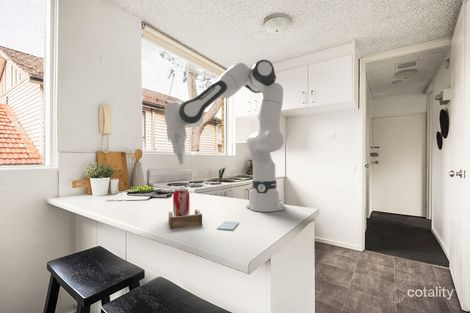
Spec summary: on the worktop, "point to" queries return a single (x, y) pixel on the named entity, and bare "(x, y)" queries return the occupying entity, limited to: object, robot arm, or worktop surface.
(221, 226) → the slate card
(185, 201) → the soda can
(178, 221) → the can rack
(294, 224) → the worktop surface
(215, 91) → the robot arm
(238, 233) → the worktop surface
